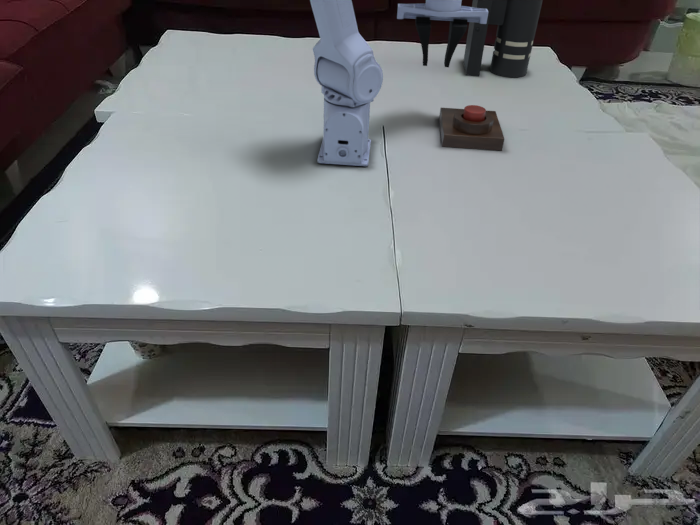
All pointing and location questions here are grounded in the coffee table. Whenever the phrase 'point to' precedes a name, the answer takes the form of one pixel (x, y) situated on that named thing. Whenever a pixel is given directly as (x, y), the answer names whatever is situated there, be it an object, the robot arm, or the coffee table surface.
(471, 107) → the button
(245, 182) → the coffee table surface
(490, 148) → the switch block
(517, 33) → the light fixture
